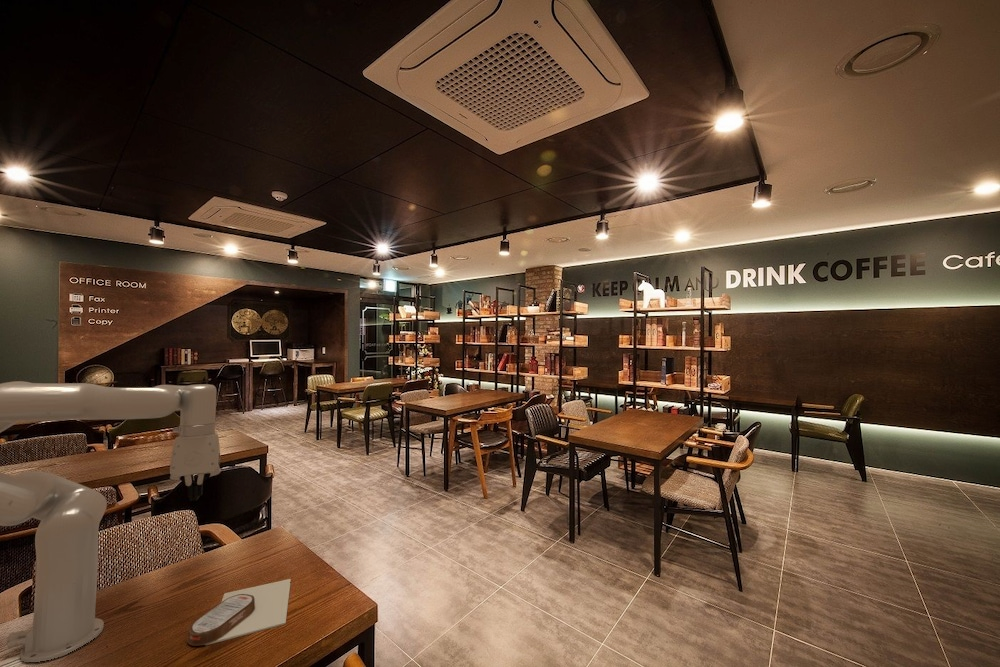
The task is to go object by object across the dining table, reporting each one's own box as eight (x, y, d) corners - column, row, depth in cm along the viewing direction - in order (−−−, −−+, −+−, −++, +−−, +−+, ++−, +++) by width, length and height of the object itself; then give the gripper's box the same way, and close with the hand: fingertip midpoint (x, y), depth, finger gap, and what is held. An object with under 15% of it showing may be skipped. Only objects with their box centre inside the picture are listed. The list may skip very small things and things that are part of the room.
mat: (205, 645, 87) (205, 643, 87) (224, 594, 105) (224, 593, 105) (285, 624, 94) (285, 622, 94) (290, 580, 112) (290, 578, 112)
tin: (177, 642, 87) (207, 651, 85) (179, 628, 87) (209, 636, 85) (235, 600, 102) (262, 607, 100) (236, 588, 102) (263, 595, 100)
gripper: (157, 435, 97) (153, 509, 96) (228, 430, 103) (225, 499, 103) (167, 430, 104) (164, 498, 103) (233, 425, 110) (231, 490, 109)
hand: (194, 498), depth 103 cm, fingers closed
